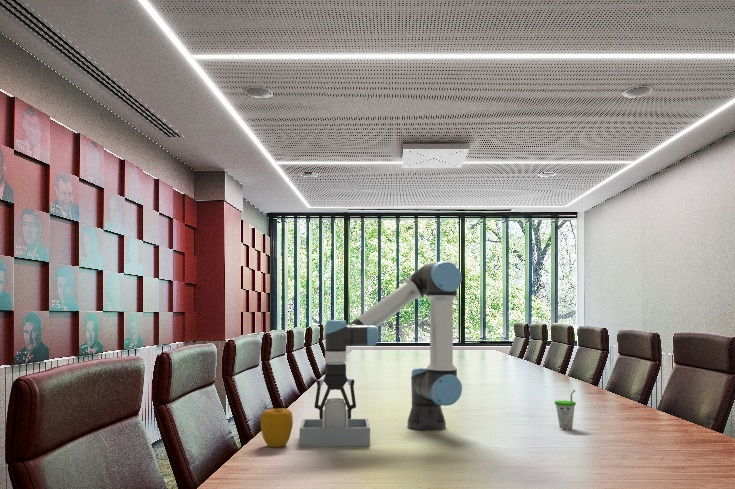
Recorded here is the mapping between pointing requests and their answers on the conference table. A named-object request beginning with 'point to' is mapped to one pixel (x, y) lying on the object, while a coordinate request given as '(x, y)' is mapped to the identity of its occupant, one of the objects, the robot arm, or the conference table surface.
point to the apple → (276, 426)
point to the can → (335, 413)
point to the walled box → (334, 433)
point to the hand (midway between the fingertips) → (335, 428)
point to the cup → (565, 413)
